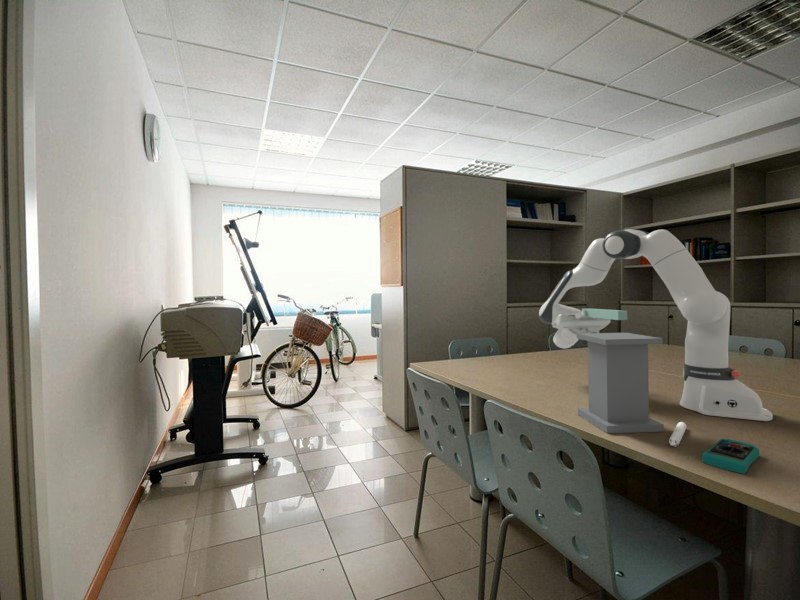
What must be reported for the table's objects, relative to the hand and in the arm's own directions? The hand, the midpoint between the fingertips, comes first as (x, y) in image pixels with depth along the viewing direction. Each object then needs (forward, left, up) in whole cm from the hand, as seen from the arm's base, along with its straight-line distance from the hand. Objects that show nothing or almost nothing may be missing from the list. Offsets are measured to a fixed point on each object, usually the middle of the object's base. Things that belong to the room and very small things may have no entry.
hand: (591, 311), depth 140 cm
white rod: (-27, +32, -32) cm, 53 cm away
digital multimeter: (-37, +41, -32) cm, 64 cm away
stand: (-13, +29, -32) cm, 45 cm away
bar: (-5, +6, -2) cm, 8 cm away
